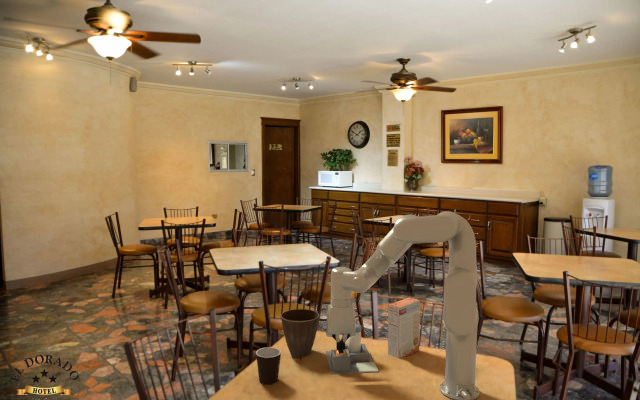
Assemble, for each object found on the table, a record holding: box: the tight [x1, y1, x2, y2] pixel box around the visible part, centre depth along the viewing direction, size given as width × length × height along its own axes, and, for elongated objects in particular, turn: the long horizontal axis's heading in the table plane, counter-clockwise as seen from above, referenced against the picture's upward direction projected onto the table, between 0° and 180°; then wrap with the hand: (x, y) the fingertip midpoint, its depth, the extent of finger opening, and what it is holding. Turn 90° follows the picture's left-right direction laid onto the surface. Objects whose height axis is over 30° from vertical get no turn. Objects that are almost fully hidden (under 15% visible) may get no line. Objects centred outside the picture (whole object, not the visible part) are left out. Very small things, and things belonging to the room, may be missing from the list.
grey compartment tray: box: [325, 343, 379, 375], centre depth 174 cm, size 20×17×6 cm
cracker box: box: [387, 297, 421, 359], centre depth 183 cm, size 14×6×21 cm, turn 134°
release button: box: [336, 349, 346, 356], centre depth 168 cm, size 4×4×4 cm
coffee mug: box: [255, 346, 282, 386], centre depth 162 cm, size 12×9×10 cm
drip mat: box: [356, 361, 379, 374], centre depth 169 cm, size 7×7×1 cm
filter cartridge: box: [347, 323, 362, 353], centre depth 178 cm, size 5×5×12 cm
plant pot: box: [280, 308, 320, 359], centre depth 182 cm, size 15×15×16 cm
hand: (340, 351), depth 168 cm, fingers closed
